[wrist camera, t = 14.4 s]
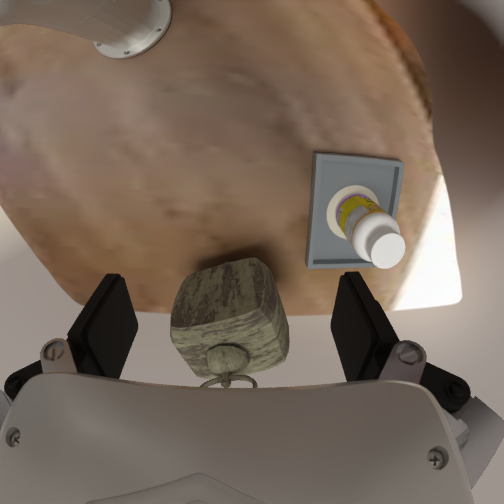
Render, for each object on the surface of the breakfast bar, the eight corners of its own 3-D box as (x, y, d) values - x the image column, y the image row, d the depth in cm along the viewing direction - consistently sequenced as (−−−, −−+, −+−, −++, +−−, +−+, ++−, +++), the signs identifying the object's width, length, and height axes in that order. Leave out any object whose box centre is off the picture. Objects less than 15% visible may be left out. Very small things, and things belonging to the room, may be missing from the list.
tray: (313, 151, 37) (316, 154, 35) (397, 159, 38) (404, 162, 36) (305, 261, 46) (307, 268, 44) (380, 260, 46) (385, 266, 44)
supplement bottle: (380, 213, 41) (420, 252, 30) (350, 239, 43) (380, 285, 32) (357, 182, 39) (396, 214, 27) (325, 211, 41) (352, 252, 30)
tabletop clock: (203, 303, 50) (181, 428, 28) (182, 262, 46) (139, 388, 24) (281, 283, 48) (302, 413, 26) (267, 237, 44) (284, 368, 22)
